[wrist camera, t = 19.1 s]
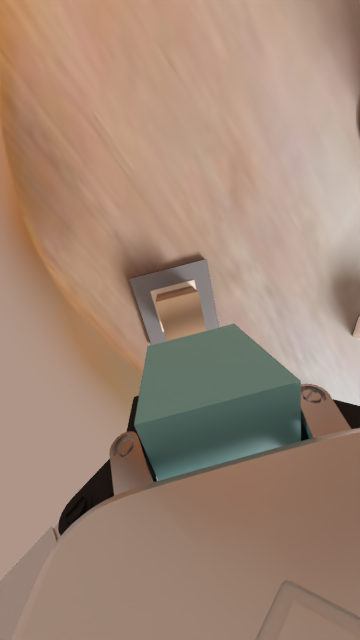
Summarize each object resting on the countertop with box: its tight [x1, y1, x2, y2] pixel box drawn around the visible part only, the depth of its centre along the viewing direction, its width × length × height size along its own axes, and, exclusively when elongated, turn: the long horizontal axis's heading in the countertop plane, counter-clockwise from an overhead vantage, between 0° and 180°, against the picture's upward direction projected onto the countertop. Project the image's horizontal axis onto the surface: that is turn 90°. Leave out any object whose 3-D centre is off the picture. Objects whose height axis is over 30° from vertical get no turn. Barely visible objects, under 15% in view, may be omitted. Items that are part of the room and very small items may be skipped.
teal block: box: [134, 324, 301, 481], centre depth 10 cm, size 6×6×6 cm
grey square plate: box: [130, 259, 219, 345], centre depth 31 cm, size 13×13×1 cm
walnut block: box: [156, 286, 206, 341], centre depth 28 cm, size 6×6×6 cm
